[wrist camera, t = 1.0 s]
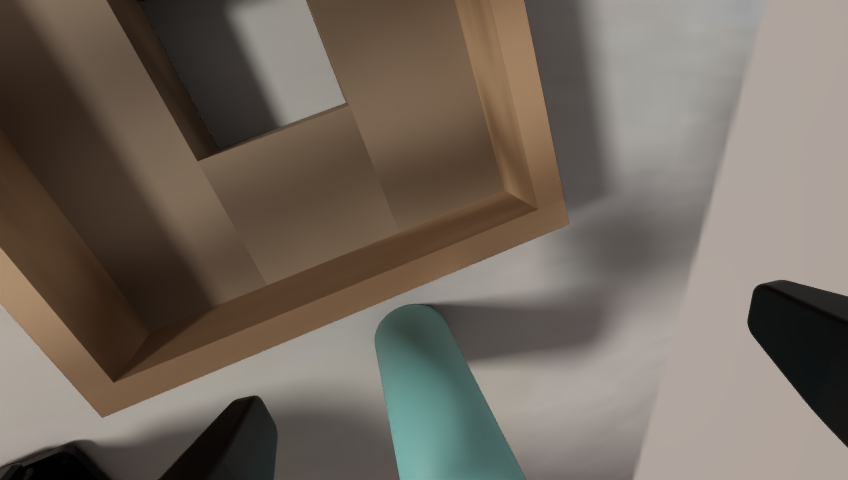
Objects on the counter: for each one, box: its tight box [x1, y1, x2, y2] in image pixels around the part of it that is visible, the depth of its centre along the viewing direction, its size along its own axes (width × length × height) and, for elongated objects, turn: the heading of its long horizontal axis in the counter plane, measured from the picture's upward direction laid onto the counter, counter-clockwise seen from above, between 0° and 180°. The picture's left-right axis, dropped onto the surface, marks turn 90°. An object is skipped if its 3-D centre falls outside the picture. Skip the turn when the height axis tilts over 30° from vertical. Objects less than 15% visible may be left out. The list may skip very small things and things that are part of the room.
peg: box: [375, 304, 526, 480], centre depth 17 cm, size 4×4×10 cm
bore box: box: [0, 0, 569, 418], centre depth 13 cm, size 18×17×6 cm
